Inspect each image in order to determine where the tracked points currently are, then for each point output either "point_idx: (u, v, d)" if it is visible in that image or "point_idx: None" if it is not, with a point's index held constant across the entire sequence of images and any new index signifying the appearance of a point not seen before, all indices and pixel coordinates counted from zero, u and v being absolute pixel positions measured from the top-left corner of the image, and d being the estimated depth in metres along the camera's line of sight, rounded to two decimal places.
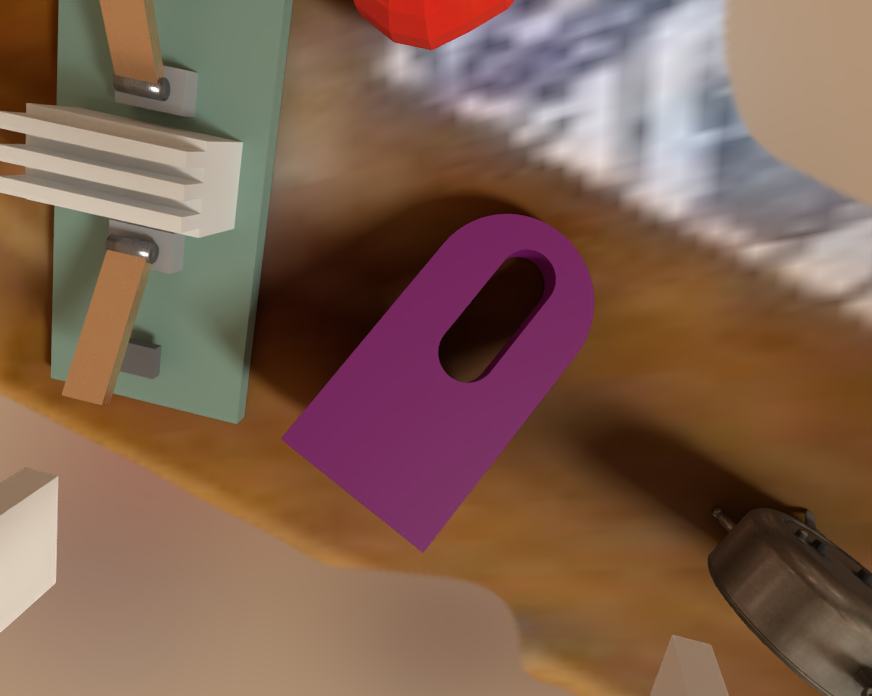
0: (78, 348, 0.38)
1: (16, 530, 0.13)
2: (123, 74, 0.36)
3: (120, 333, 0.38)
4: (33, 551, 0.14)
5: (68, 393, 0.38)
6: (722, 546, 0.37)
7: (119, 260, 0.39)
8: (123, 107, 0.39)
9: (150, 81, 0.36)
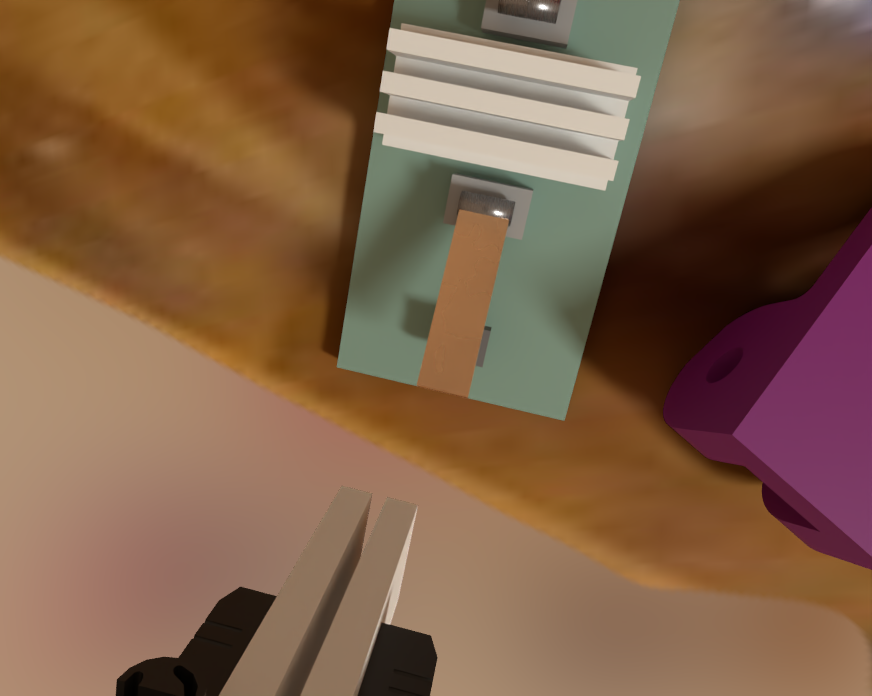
0: (433, 328, 0.31)
1: (355, 542, 0.15)
2: None
3: (484, 310, 0.31)
4: (355, 560, 0.16)
5: (424, 383, 0.31)
6: None
7: (476, 222, 0.32)
8: None
9: None
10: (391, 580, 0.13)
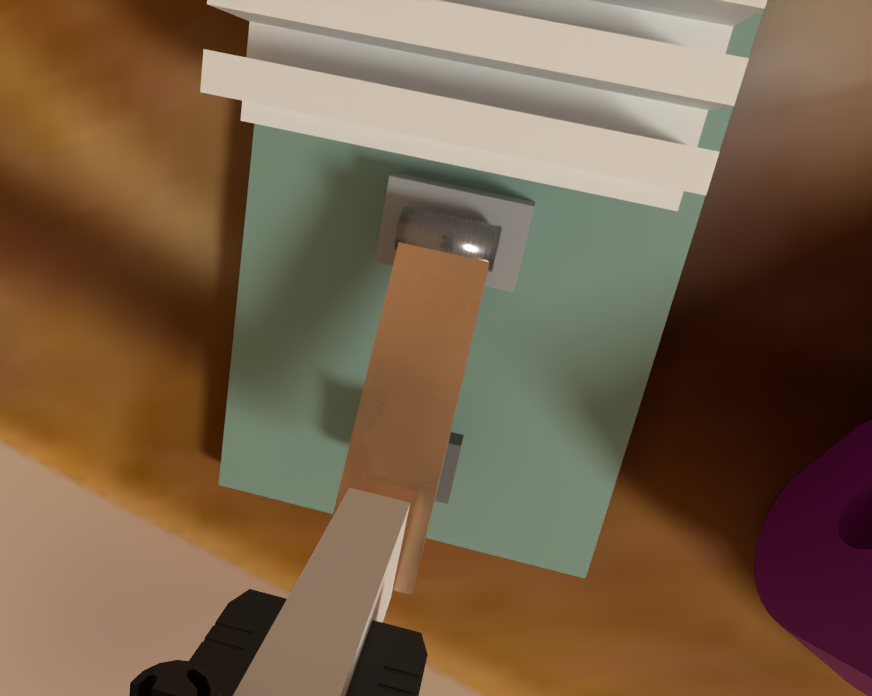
0: (350, 465, 0.17)
1: None
2: None
3: (442, 432, 0.17)
4: None
5: None
6: None
7: (428, 266, 0.17)
8: None
9: None
10: (382, 578, 0.13)
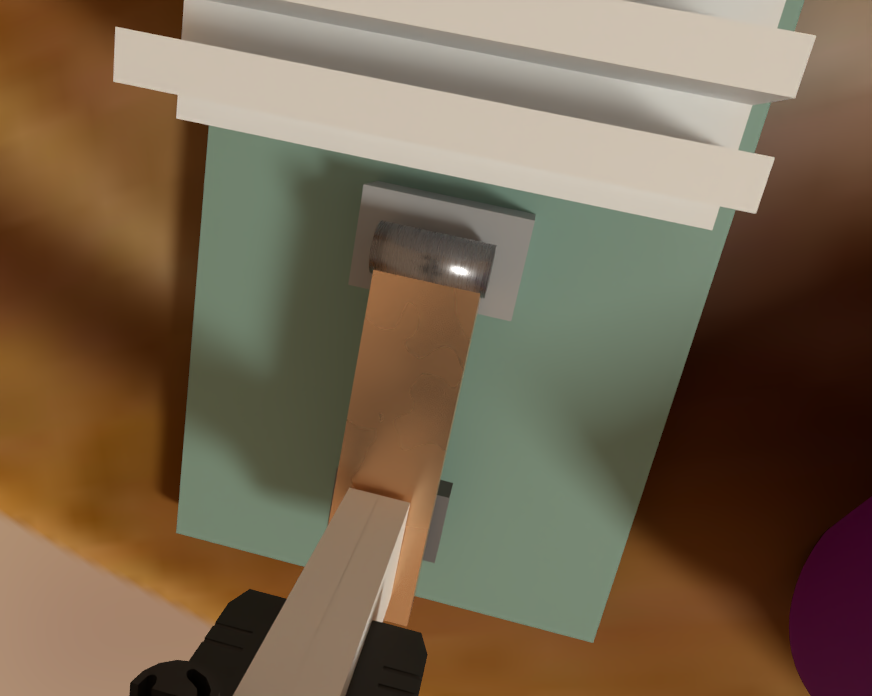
0: (336, 507, 0.16)
1: None
2: None
3: (432, 477, 0.16)
4: None
5: None
6: None
7: (409, 298, 0.15)
8: None
9: None
10: (382, 578, 0.13)
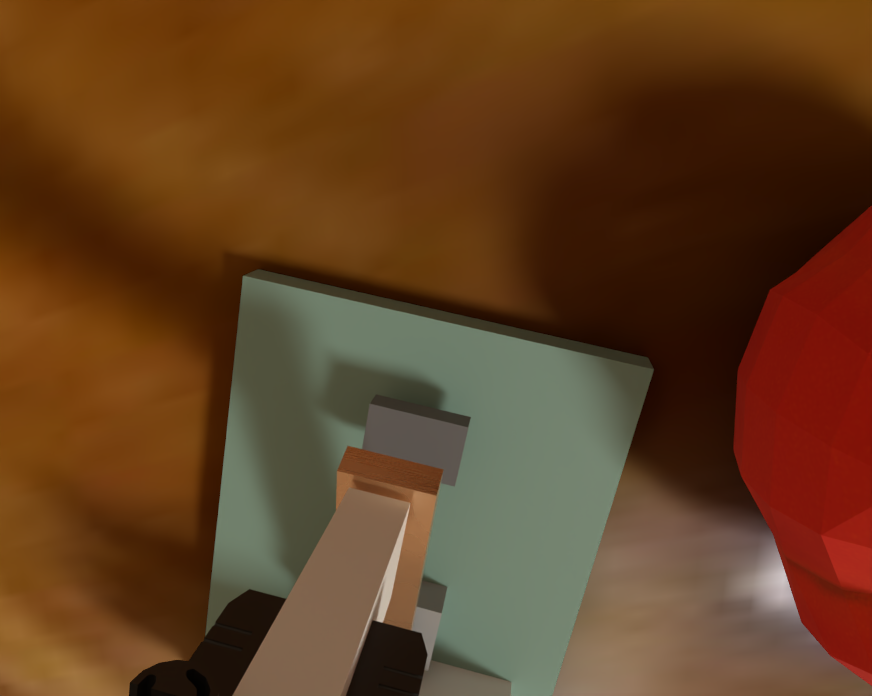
0: None
1: None
2: None
3: None
4: None
5: None
6: None
7: None
8: None
9: None
10: (382, 578, 0.13)
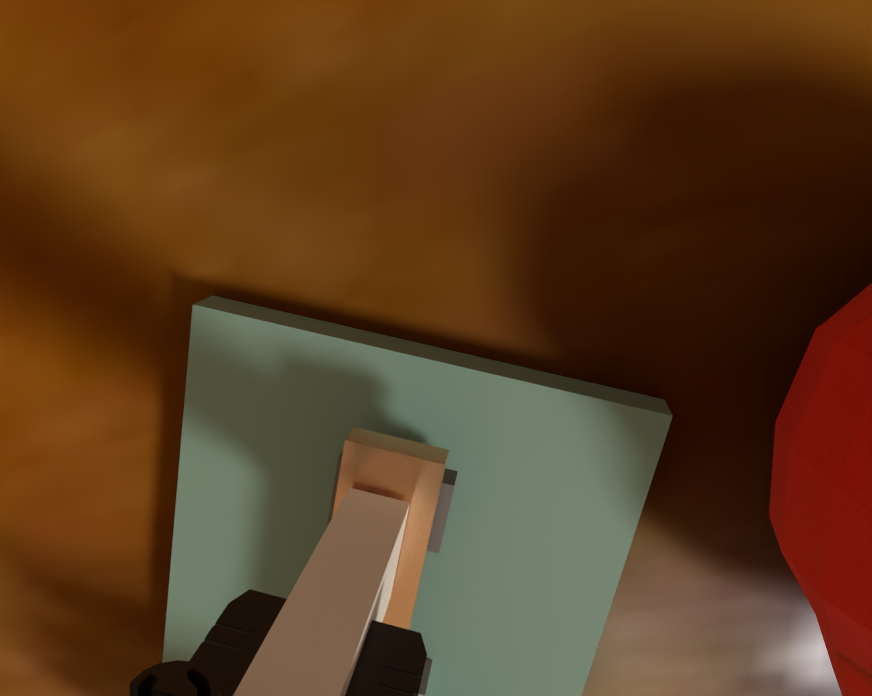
0: None
1: None
2: None
3: None
4: None
5: None
6: None
7: None
8: None
9: None
10: (381, 578, 0.13)
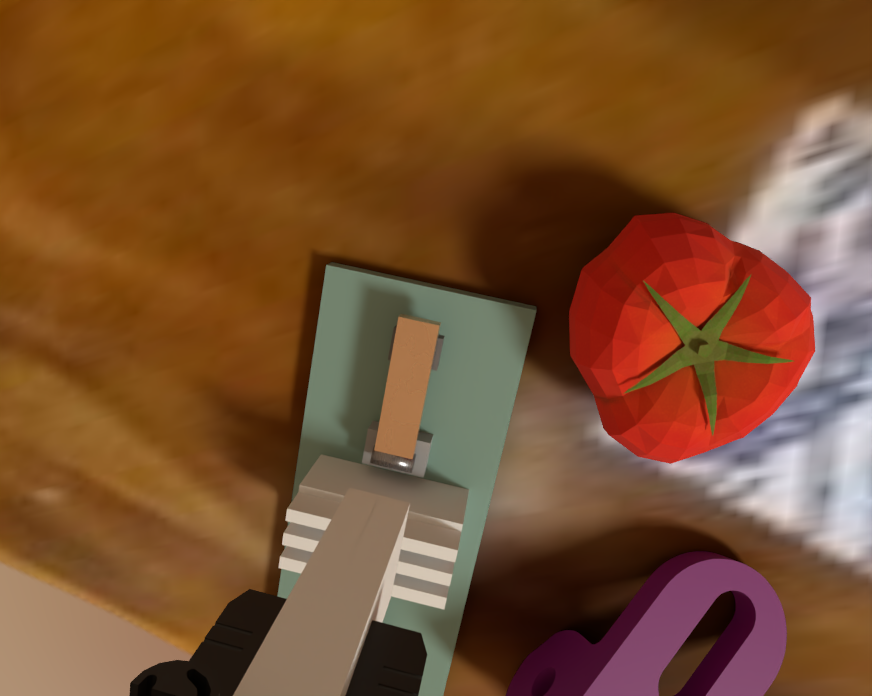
0: None
1: None
2: (382, 450, 0.41)
3: None
4: None
5: None
6: None
7: None
8: (361, 457, 0.44)
9: (406, 457, 0.41)
10: (382, 578, 0.13)
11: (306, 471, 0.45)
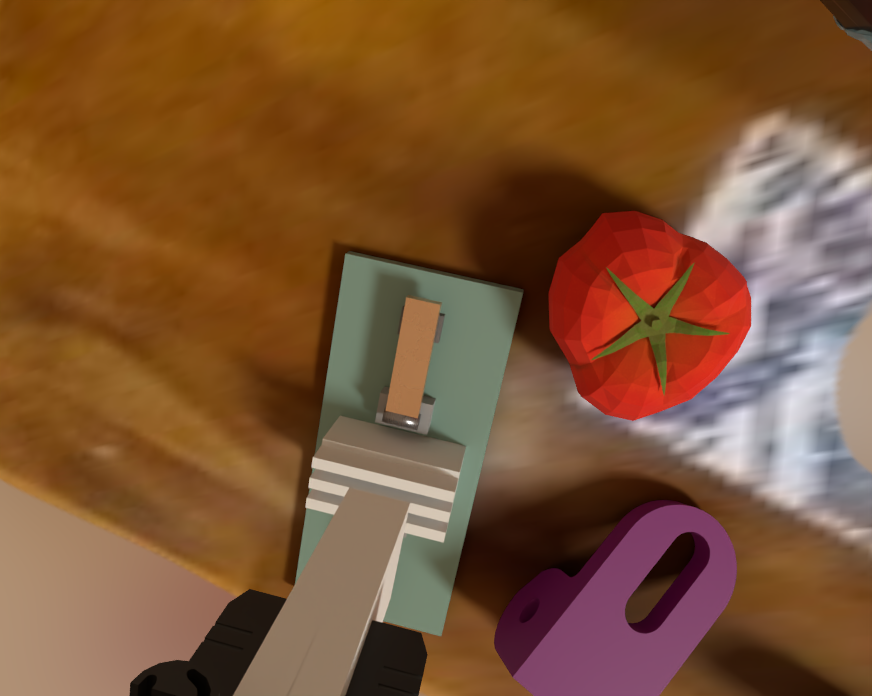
0: None
1: None
2: (392, 410, 0.49)
3: None
4: None
5: None
6: None
7: None
8: (374, 417, 0.52)
9: (412, 416, 0.49)
10: (382, 578, 0.13)
11: (327, 430, 0.53)
